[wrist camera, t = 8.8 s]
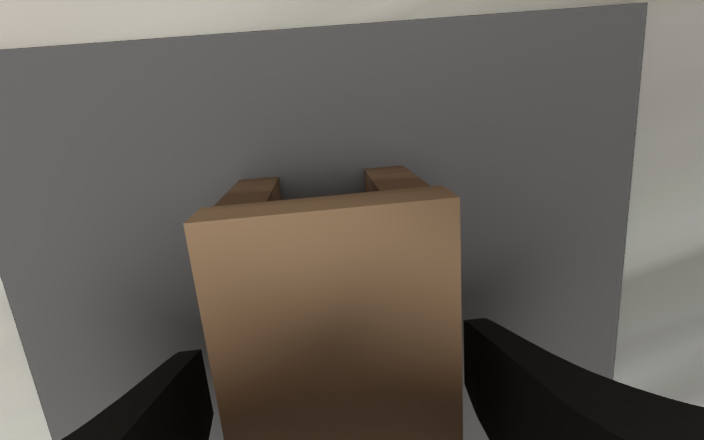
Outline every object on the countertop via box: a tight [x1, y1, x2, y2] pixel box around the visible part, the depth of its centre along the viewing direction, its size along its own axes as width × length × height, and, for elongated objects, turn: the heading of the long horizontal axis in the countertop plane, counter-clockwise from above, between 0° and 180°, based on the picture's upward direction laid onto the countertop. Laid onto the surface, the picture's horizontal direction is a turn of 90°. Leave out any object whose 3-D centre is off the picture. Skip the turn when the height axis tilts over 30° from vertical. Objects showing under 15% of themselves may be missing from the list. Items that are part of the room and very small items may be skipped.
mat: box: [0, 3, 648, 440], centre depth 15 cm, size 20×18×1 cm
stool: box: [183, 165, 463, 440], centre depth 12 cm, size 10×5×6 cm, turn 5°
